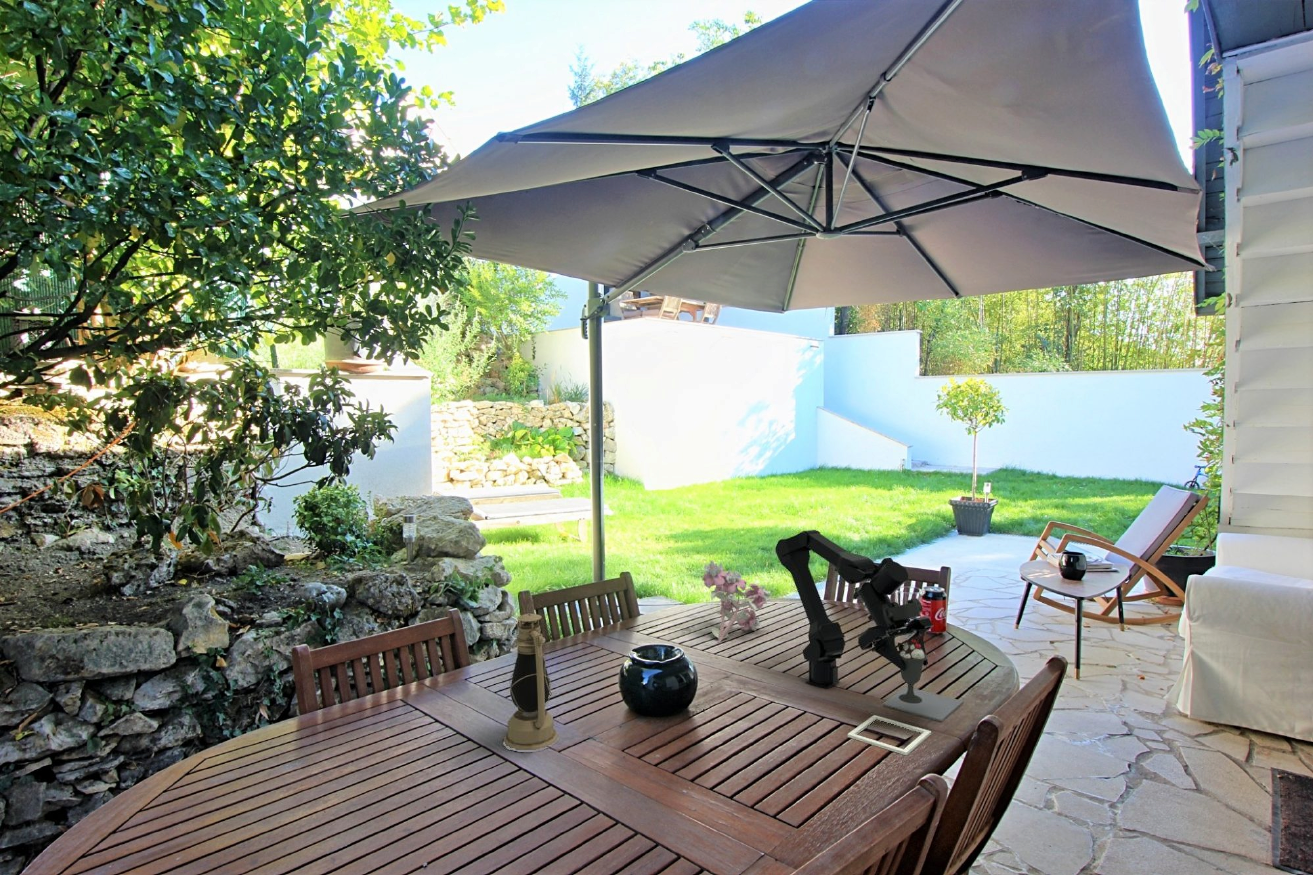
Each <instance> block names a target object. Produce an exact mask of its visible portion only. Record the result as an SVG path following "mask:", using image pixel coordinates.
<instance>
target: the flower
mask: <svg viewBox="0 0 1313 875" xmlns="http://www.w3.org/2000/svg"><path fill="white" fill-rule="evenodd" d="M703 568H704V569H705V572H704V573H703V575H702V581H703V584H704V586H705V587H707V588H709V589H711V587H713V586H715V588H714V590H711V591H710V599H711V601H714V598H717V599H720V600H719V601H718V603H720V602H721V604H720V606H721V607H720V610H719V611H718V612H717V613H716V615H721V623H720V628H719V627H714V626H712V627H711V632H712V635H713V636H714V637H716V638H717V639H718V640H717V642H718V643H720V642H721V641H722V640H724V639H725V638H726V639H729V637H730V636H729V631H730V630H731V629H732V627H733V625H734V624H735V622H737V625H738V626H739V627H740V629H741V630H742V631H743V632H744V631H749V630H752V632H753V631H758V630H757V628H758V627H759V626H760V625H761V622H760V619H761V618H760V617H758V616H757V615H756V610H757V609H758V610H761V609H762V608H763V606H764V605H766V604H767V602H770V601H771V599H772V598H771V591H772V590H768V589H765V588H766V585H762V586H760V587H759V585H758V584H756V583H750V584H749V585H748V587H750V588H751V589H749V588H748V589H746V588H747V581H746V580H745V579H743V576H742V574H741V573H740V572H739V571H738V570H736V571H735V570H733V571H731V567H729V568H728V569H729V570H727V571H725V569H724V568H723V564H722V562H720V563H719V564H718V566H717V563H715V562H714V561H713V560H711V559H710V561H709V564H708V563H707V564H705V563H704V567H703ZM740 589H741V590H742V591H741V590H740ZM745 590H746V591H745ZM744 591H745V592H744ZM735 594H737V596H736V595H735ZM740 596H743V597H744V598H745V599H744V600H743V601H741V603H740ZM736 597H738V598H737V599H736ZM751 600H752V601H751ZM746 607H749V608H750V609H748V608H746ZM740 608H743V609H742V610H741V611H739V609H740ZM733 609H735V611H734V610H733ZM725 617H726V618H727V619H728V620H729V622H728V623H727V625H726V626H725ZM724 627H725V628H724Z"/></svg>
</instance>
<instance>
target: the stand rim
mask: <svg viewBox="0 0 1313 875" xmlns="http://www.w3.org/2000/svg"><path fill="white" fill-rule="evenodd" d="M876 719H878V720H880V721H879V722H881V721H884V722H887V723H886V724H888V723H891V724H894V725H893V726H895V725H897V726H896V727H898V726H900V727H899V728H902V727H904V728H903V729H905V728H906V729H905V730H908V729H909V731H912V732H915V731H916V733H919V732H920V735H919V736H918V737H916V738H915V739H914V740H913V741H912V742H911V743H910V744H908V745H907V746H906V747H905V748H901V747H897V746H894V745H890V744H888V743H885V742H881V741H878V740H875V739H871V738H868V737H865V736H862V735H859V733H861V732H862V731H864V730H865V729H866V728H868V727H869V726H871V725H872V724H873V723H874V722H873V721H875V720H876ZM878 720H876V721H878ZM876 721H875V722H876ZM872 722H873V723H872ZM884 722H883V723H884ZM871 723H872V724H871ZM870 724H871V725H870ZM891 724H890V725H891ZM868 725H869V726H868ZM867 726H868V727H867ZM930 735H932V731H931V730H928V729H924V728H921V727H917V726H914V725H910V724H907V723H903V722H900V721H897V720H893V719H890V718H886V717H883V716H879V715H875V714H874V715H872V716H871V717H869V718H868V719H866V720H865V721H864V722H862V723H861V724H859V725H858V726H857V727H856V728H854V729H852V730H851V731H850V732H848V733H847V738H850V739H853V740H857V741H859V742H862V743H865V744H869V745H872V746H876V747H879V748H880V749H881V748H882V749H884V750H888V751H891V752H895V753H897V754H901V755H903V756H908V755H909V754H910V753H912V751H913V750H915V749H916V748H917V747H918V746H920V745H921V744H922V743H923V742H924V741H925V740H926V739H927V738H928V737H930Z"/></svg>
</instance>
